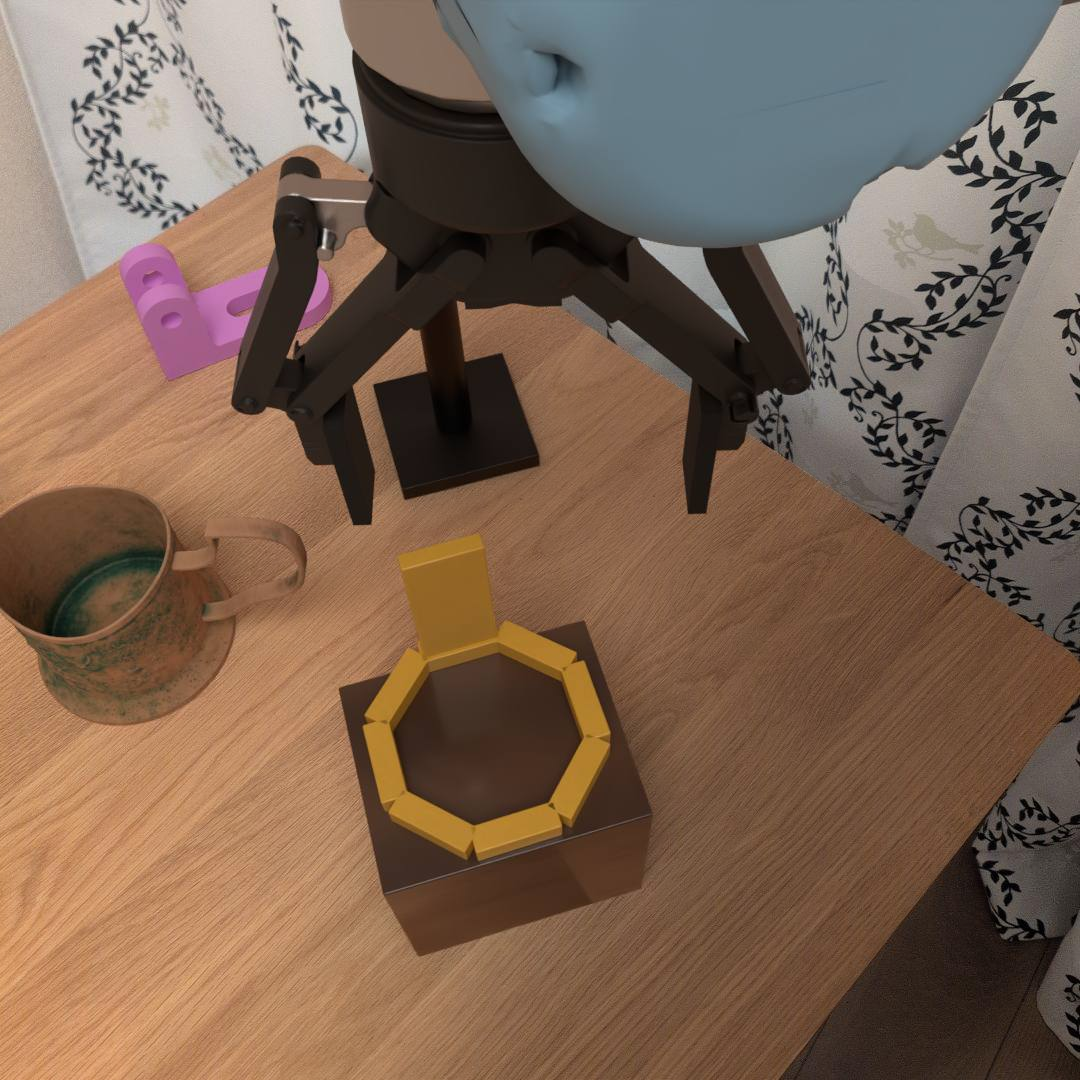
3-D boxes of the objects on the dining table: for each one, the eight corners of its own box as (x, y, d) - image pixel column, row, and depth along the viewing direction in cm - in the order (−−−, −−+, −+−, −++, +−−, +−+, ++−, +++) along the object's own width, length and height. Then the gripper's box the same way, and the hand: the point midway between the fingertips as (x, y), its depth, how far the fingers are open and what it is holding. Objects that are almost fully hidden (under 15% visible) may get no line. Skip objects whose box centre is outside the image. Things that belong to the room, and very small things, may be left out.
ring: (635, 812, 50) (645, 730, 42) (402, 885, 49) (368, 815, 41) (562, 610, 55) (559, 505, 47) (350, 671, 54) (311, 573, 46)
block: (641, 888, 60) (653, 814, 50) (418, 957, 59) (383, 895, 48) (584, 717, 65) (584, 619, 55) (377, 777, 64) (337, 687, 53)
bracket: (168, 381, 79) (134, 310, 73) (145, 327, 82) (110, 255, 76) (343, 313, 82) (325, 240, 76) (316, 263, 85) (295, 189, 79)
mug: (325, 723, 65) (278, 626, 55) (19, 726, 66) (-84, 631, 56) (343, 549, 71) (304, 433, 61) (63, 554, 72) (-23, 439, 62)
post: (540, 465, 74) (532, 326, 63) (404, 500, 73) (371, 365, 62) (503, 363, 79) (490, 216, 68) (375, 395, 78) (340, 251, 67)
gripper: (954, -79, 31) (819, 409, 49) (41, -40, 32) (238, 430, 50) (1021, 100, 27) (847, 560, 45) (-25, 142, 28) (216, 580, 46)
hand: (528, 492), depth 47 cm, fingers open, 13 cm apart
